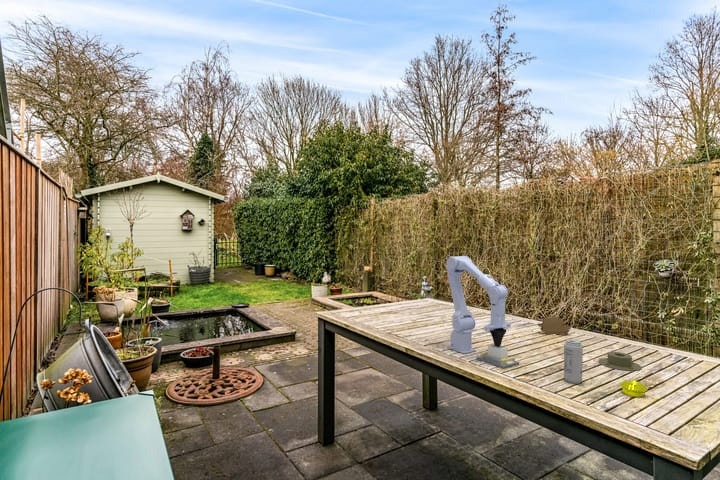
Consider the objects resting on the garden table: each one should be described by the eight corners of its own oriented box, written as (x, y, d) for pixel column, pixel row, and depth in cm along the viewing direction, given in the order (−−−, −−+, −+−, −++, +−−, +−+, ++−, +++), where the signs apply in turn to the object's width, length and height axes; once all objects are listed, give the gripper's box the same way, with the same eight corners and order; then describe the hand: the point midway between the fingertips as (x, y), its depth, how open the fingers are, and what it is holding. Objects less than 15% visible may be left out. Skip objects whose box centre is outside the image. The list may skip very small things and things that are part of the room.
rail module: (487, 356, 168) (487, 344, 168) (493, 355, 170) (494, 343, 170) (501, 361, 162) (501, 348, 162) (507, 359, 164) (507, 347, 164)
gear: (653, 398, 130) (635, 389, 138) (653, 387, 130) (636, 378, 138) (630, 398, 130) (613, 389, 138) (630, 387, 130) (614, 378, 138)
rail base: (476, 359, 169) (476, 352, 169) (491, 355, 175) (491, 349, 175) (503, 368, 158) (503, 362, 158) (519, 364, 163) (519, 357, 163)
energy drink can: (584, 385, 141) (585, 343, 141) (566, 383, 142) (567, 342, 142) (578, 378, 147) (579, 339, 147) (561, 377, 148) (561, 338, 148)
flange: (620, 348, 172) (590, 350, 169) (651, 359, 157) (618, 361, 155) (620, 359, 172) (590, 361, 170) (651, 371, 157) (618, 373, 155)
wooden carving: (568, 334, 213) (568, 316, 213) (571, 336, 208) (571, 317, 208) (536, 332, 216) (536, 314, 216) (538, 334, 211) (538, 316, 211)
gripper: (494, 317, 159) (493, 350, 159) (516, 313, 166) (516, 345, 167) (480, 314, 165) (480, 346, 165) (502, 311, 172) (502, 341, 173)
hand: (497, 345), depth 166 cm, fingers closed
